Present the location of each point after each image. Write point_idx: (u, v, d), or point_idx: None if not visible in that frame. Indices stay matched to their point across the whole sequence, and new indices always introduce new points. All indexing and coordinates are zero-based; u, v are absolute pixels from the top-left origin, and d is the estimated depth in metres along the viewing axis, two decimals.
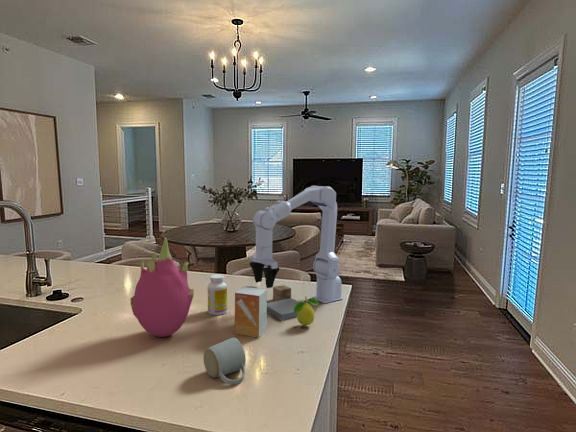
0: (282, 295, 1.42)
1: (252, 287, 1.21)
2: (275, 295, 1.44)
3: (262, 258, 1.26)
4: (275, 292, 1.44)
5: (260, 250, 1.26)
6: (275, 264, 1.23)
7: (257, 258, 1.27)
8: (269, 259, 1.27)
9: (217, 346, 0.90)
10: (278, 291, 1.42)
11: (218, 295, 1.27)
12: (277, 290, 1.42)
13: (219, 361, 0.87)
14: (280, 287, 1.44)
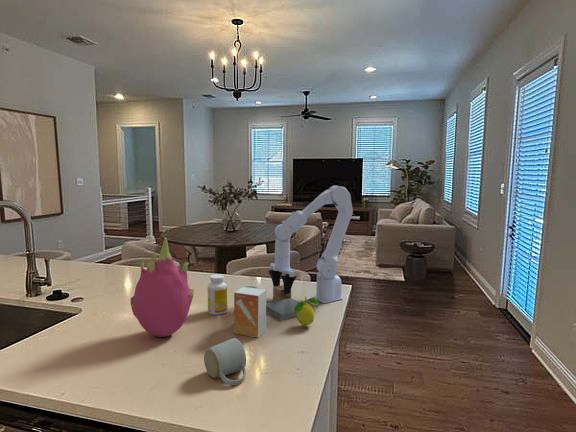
0: (282, 295, 1.42)
1: (252, 287, 1.21)
2: (275, 295, 1.44)
3: (281, 267, 1.40)
4: (275, 292, 1.44)
5: (279, 260, 1.40)
6: (293, 273, 1.37)
7: (276, 267, 1.41)
8: (287, 268, 1.41)
9: (218, 346, 0.90)
10: (278, 291, 1.42)
11: (218, 295, 1.27)
12: (277, 290, 1.42)
13: (220, 361, 0.87)
14: (280, 287, 1.44)
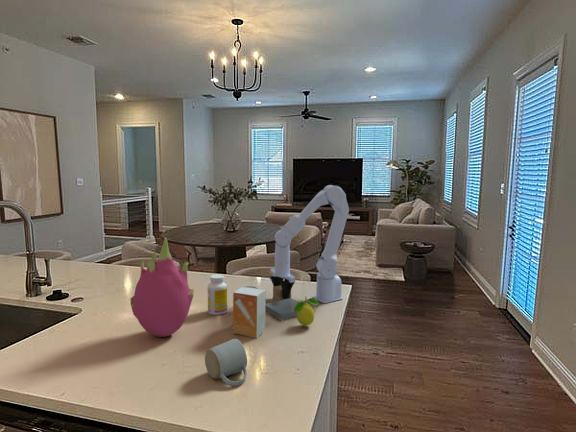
0: (282, 295, 1.42)
1: (252, 287, 1.21)
2: (274, 295, 1.44)
3: (281, 273, 1.41)
4: (275, 292, 1.44)
5: (279, 265, 1.41)
6: (293, 278, 1.38)
7: (276, 273, 1.42)
8: (287, 273, 1.41)
9: (218, 347, 0.89)
10: (278, 291, 1.42)
11: (218, 295, 1.27)
12: (277, 290, 1.42)
13: (221, 362, 0.87)
14: (279, 287, 1.44)
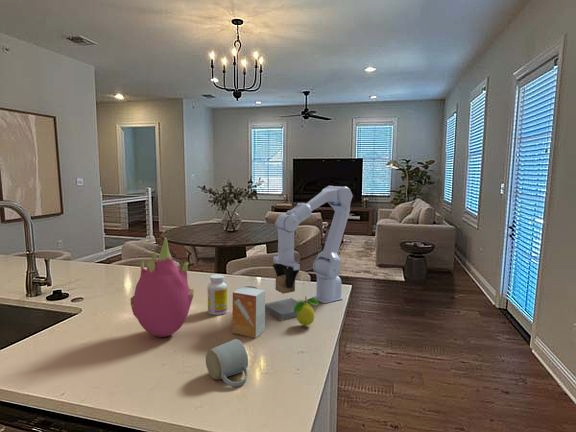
0: None
1: (252, 287, 1.21)
2: (277, 285, 1.34)
3: (284, 260, 1.31)
4: (277, 282, 1.34)
5: (282, 252, 1.31)
6: (297, 266, 1.28)
7: (279, 260, 1.32)
8: (291, 261, 1.32)
9: (219, 348, 0.89)
10: (281, 281, 1.32)
11: (218, 295, 1.27)
12: (280, 280, 1.33)
13: (221, 362, 0.86)
14: (283, 277, 1.34)
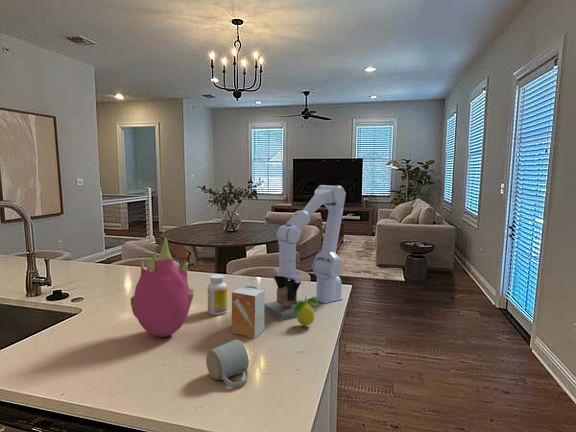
0: (287, 298, 1.29)
1: (252, 287, 1.21)
2: (279, 298, 1.32)
3: (286, 272, 1.28)
4: (279, 295, 1.32)
5: (284, 264, 1.28)
6: (299, 278, 1.25)
7: (281, 272, 1.29)
8: (293, 273, 1.29)
9: (220, 348, 0.89)
10: (283, 293, 1.29)
11: (218, 295, 1.27)
12: (282, 292, 1.30)
13: (222, 363, 0.86)
14: (284, 289, 1.32)
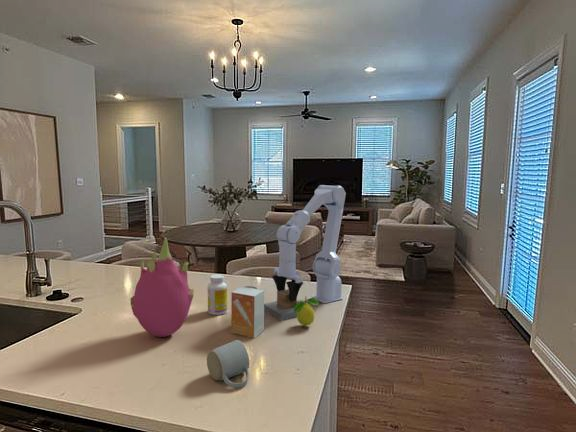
0: (287, 301, 1.30)
1: (252, 287, 1.21)
2: (279, 301, 1.32)
3: (286, 272, 1.28)
4: (279, 297, 1.32)
5: (284, 264, 1.28)
6: (299, 278, 1.25)
7: (281, 272, 1.29)
8: (293, 273, 1.29)
9: (221, 349, 0.89)
10: (282, 296, 1.30)
11: (218, 295, 1.27)
12: (281, 295, 1.30)
13: (223, 363, 0.86)
14: (284, 292, 1.32)
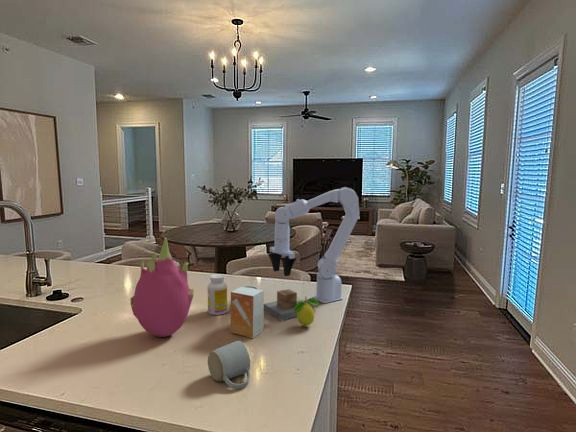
0: (287, 301, 1.30)
1: (252, 287, 1.21)
2: (279, 301, 1.32)
3: (280, 249, 1.42)
4: (279, 297, 1.32)
5: (279, 242, 1.42)
6: (292, 254, 1.39)
7: (276, 249, 1.43)
8: (287, 250, 1.42)
9: (221, 349, 0.88)
10: (282, 296, 1.30)
11: (218, 295, 1.27)
12: (281, 295, 1.30)
13: (224, 364, 0.86)
14: (284, 292, 1.32)
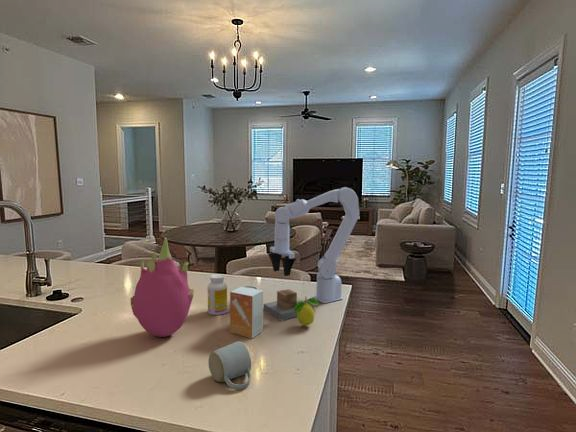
0: (287, 301, 1.30)
1: (252, 287, 1.21)
2: (279, 301, 1.32)
3: (280, 249, 1.42)
4: (279, 297, 1.32)
5: (279, 242, 1.42)
6: (292, 254, 1.39)
7: (276, 249, 1.43)
8: (286, 250, 1.43)
9: (222, 350, 0.88)
10: (282, 296, 1.30)
11: (218, 295, 1.27)
12: (281, 295, 1.30)
13: (224, 365, 0.85)
14: (284, 292, 1.32)
